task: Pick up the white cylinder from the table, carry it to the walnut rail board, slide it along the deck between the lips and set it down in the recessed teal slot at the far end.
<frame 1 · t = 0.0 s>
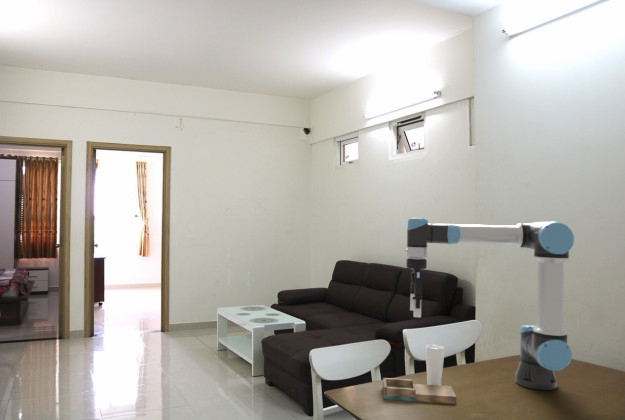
hand: (415, 313, 187), 28 cm above the table, fingers open, 13 cm apart
rail board: (419, 396, 177), on the table
white cylinder: (434, 386, 189), on the table
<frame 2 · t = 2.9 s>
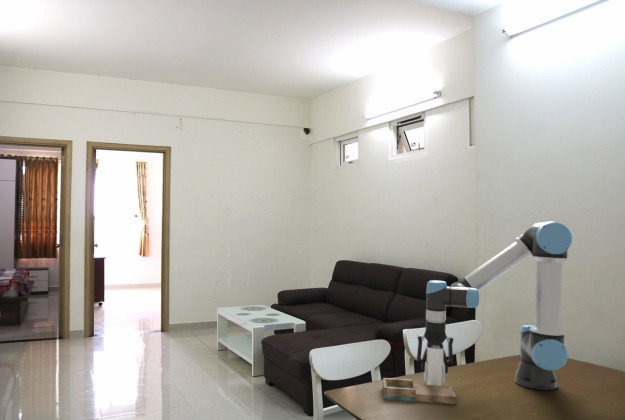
hand: (434, 380, 189), 2 cm above the table, fingers closed on white cylinder, 6 cm apart
white cylinder: (434, 386, 189), on the table, touching gripper
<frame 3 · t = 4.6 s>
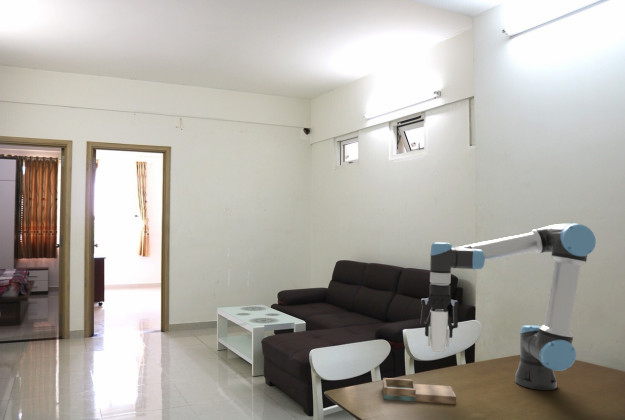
hand: (438, 345, 183), 17 cm above the table, fingers closed on white cylinder, 6 cm apart
white cylinder: (438, 351, 183), point 15 cm above the table, touching gripper
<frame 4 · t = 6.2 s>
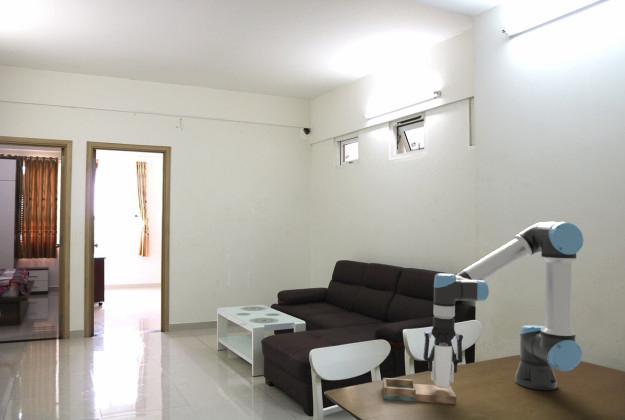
hand: (442, 380, 176), 6 cm above the table, fingers closed on white cylinder, 6 cm apart
white cylinder: (442, 386, 176), point 4 cm above the table, touching gripper
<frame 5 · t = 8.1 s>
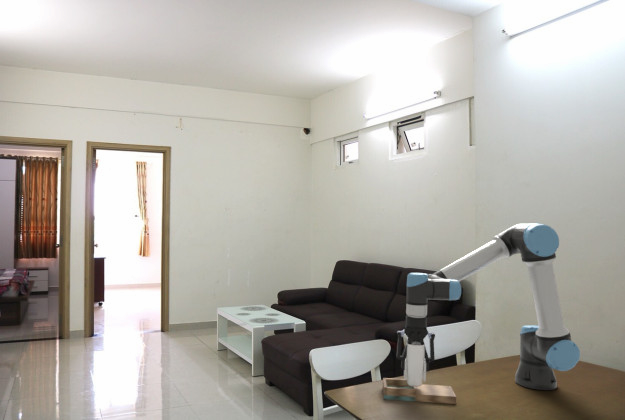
hand: (414, 379, 177), 6 cm above the table, fingers closed on white cylinder, 6 cm apart
white cylinder: (414, 385, 177), point 4 cm above the table, touching gripper
when the fingers open (5 cm above the table, at t = 9.7 s): white cylinder drops 1 cm, resting on rail board.
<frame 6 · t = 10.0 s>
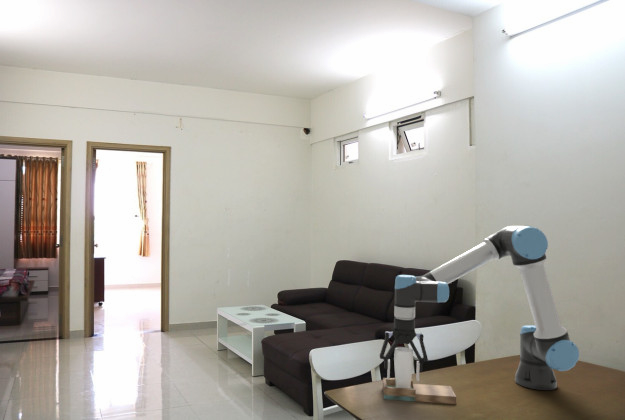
hand: (403, 379, 178), 6 cm above the table, fingers open, 10 cm apart
white cylinder: (402, 391, 178), point 1 cm above the table, touching rail board
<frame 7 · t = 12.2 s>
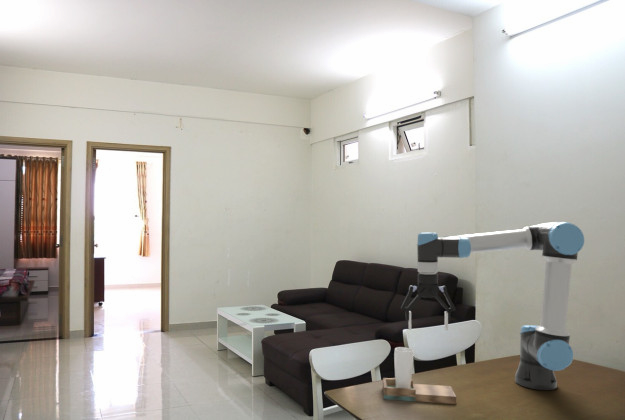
hand: (428, 329, 185), 23 cm above the table, fingers open, 13 cm apart
nothing on the table moved.
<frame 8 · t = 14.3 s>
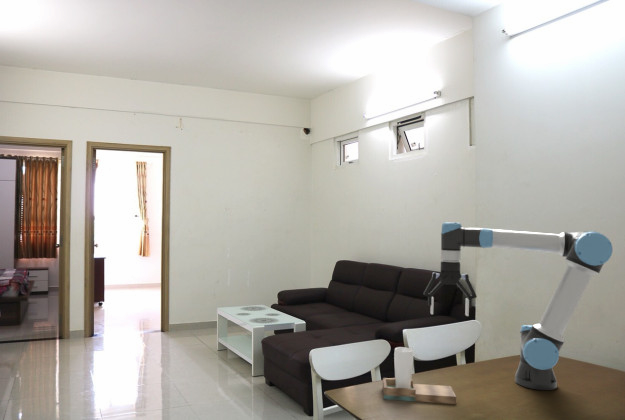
hand: (449, 314, 194), 27 cm above the table, fingers open, 13 cm apart
nothing on the table moved.
at the end: white cylinder inside the target area (1.1 cm from its centre), point 1.3 cm above the table; white cylinder tilted 0°; the gripper is holding nothing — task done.
